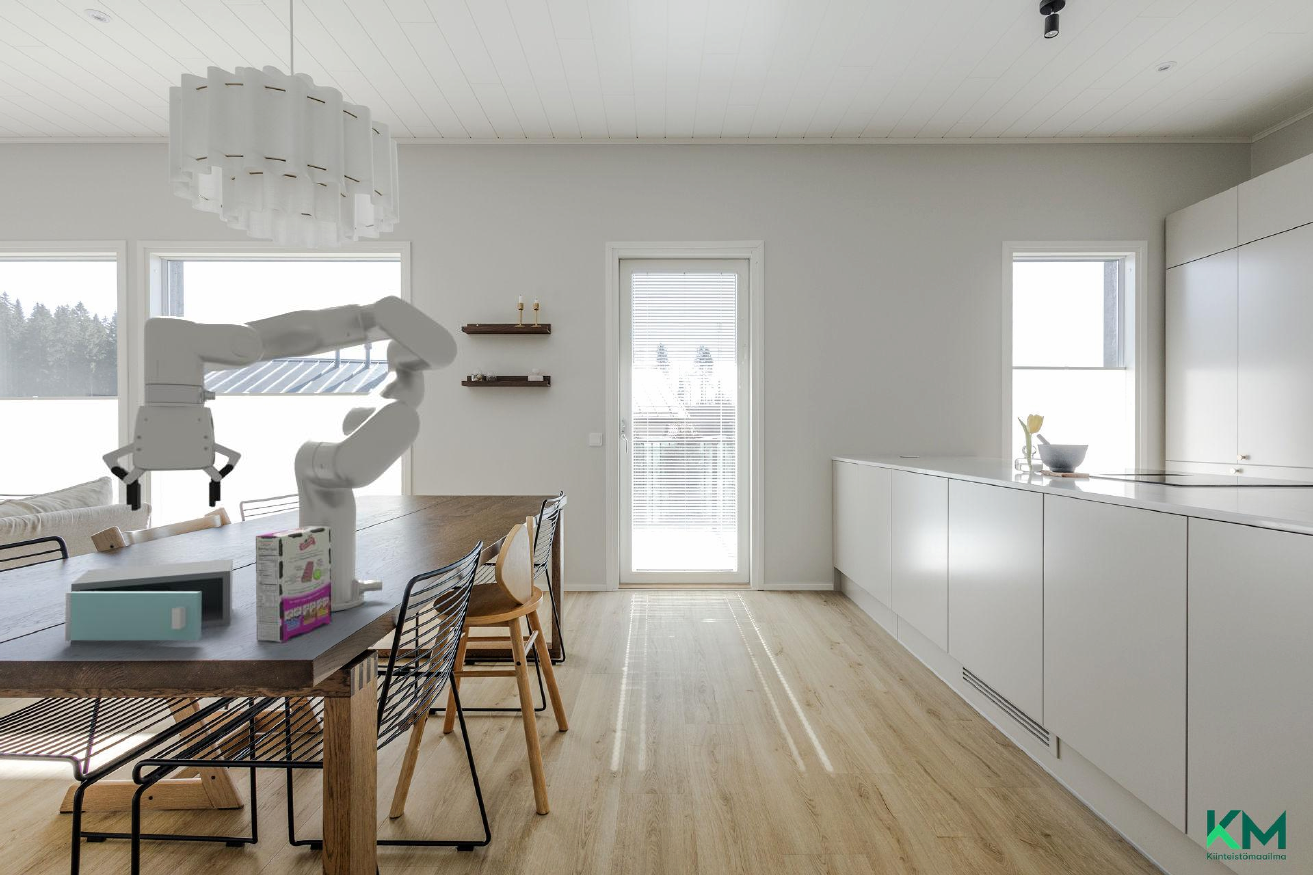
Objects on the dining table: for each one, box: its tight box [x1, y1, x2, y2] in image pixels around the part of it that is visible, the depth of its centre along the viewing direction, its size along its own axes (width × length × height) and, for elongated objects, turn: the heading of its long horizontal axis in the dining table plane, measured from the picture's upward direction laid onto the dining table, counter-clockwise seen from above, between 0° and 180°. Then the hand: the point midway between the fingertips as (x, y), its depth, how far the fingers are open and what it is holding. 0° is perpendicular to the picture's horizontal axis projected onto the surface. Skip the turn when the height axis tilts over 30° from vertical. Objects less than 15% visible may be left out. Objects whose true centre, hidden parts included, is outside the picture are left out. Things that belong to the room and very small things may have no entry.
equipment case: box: [70, 558, 234, 645], centre depth 108 cm, size 20×12×9 cm, turn 122°
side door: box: [64, 591, 202, 641], centre depth 96 cm, size 19×2×7 cm, turn 92°
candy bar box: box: [255, 526, 332, 644], centre depth 104 cm, size 11×5×16 cm, turn 168°
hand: (175, 507), depth 101 cm, fingers open, 9 cm apart
